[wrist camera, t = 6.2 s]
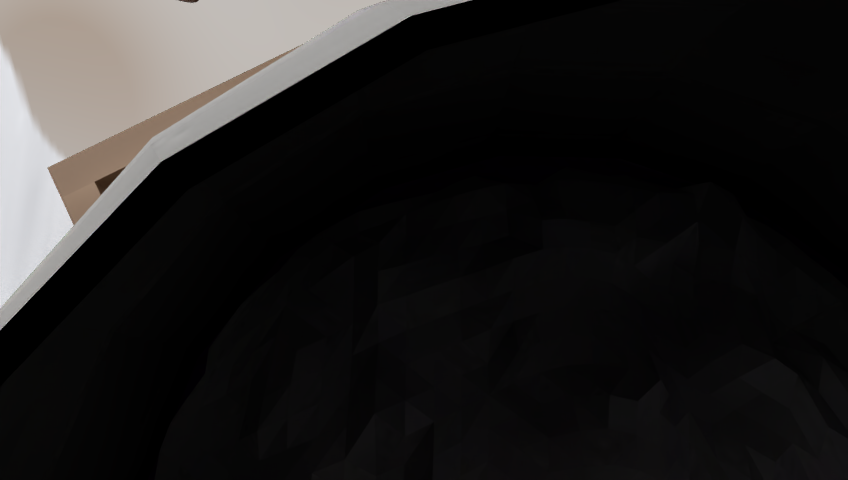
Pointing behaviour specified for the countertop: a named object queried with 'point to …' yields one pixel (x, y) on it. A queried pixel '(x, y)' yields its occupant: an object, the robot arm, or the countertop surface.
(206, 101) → the walnut tray
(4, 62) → the countertop surface
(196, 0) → the brown rounded piece
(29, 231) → the countertop surface
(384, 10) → the beverage cup
